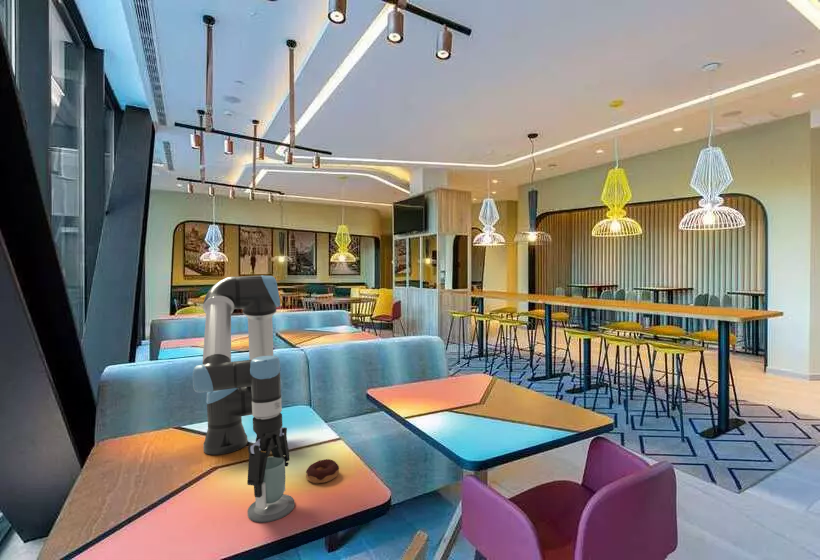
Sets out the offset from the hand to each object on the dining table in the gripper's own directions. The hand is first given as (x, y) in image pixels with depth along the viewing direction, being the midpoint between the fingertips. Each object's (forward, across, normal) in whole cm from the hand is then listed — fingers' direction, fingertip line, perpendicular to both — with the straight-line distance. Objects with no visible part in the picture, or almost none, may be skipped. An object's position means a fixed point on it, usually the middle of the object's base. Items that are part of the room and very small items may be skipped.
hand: (271, 498), depth 110 cm
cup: (0, 0, 0) cm, 0 cm away
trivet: (+3, 0, 0) cm, 3 cm away
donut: (+3, +19, -5) cm, 20 cm away
